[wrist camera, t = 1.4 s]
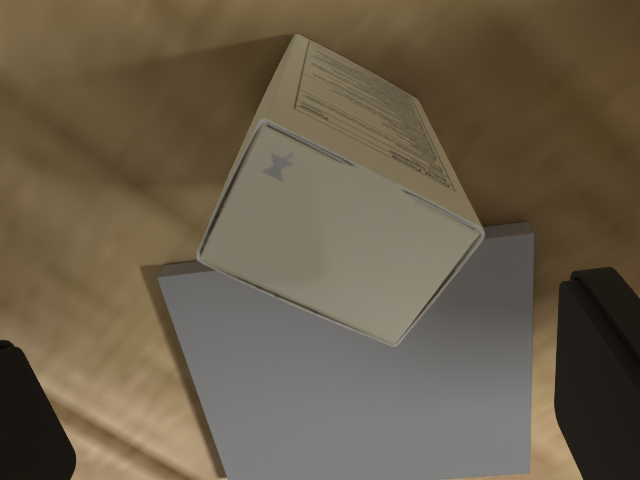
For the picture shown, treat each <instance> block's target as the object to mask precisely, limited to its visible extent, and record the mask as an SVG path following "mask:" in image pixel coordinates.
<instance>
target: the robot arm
mask: <svg viewBox="0 0 640 480" xmlns="http://www.w3.org/2000/svg"><path fill="white" fill-rule="evenodd" d="M554 408H555V414H556V419H557V422H558V425H559V427H560V430H561V432H562V434H563V436H564V438H565V440H566V443H567V445H568V447H569V449H570V451H571V454H572V456H573V458H574V460H575V462H576V464H577V467H578V469H579V471H580V473H581V475H582V477H583V480H640V298H639V297H638V296H637V295H636V294H635V292H634V291H633V290H632V289H631V288H630V287H629V285H628V284H627V283H626V282H625V281H624V280H623V278H622V277H621V276H620V275H619V274H618V272H617V271H616V270H615V269H613V268H612V267H604V268H596V269H588V270H580V271H574V272H573V273H572V274H571V277H570V281H563V282H561V284H560V288H559V305H558V328H557V351H556V374H555V396H554ZM75 466H76V454H75V451H74V449H73V447H72V445H71V443H70V441H69V439H68V437H67V435H66V433H65V431H64V429H63V427H62V425H61V424H60V422H59V420H58V418H57V416H56V414H55V412H54V410H53V408H52V406H51V404H50V402H49V400H48V399H47V397H46V395H45V393H44V391H43V389H42V387H41V385H40V383H39V381H38V379H37V377H36V375H35V374H34V372H33V370H32V368H31V366H30V364H29V362H28V360H27V358H26V356H25V354H24V353H23V351H22V350H21V349H20V348H18V347H15V346H14V345H13V344H12V343H11V342H9V341H6V340H0V480H70V479H71V477H72V475H73V473H74V470H75Z"/></svg>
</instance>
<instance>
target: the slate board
mask: <svg viewBox="0 0 640 480" xmlns="http://www.w3.org/2000/svg"><path fill="white" fill-rule="evenodd" d="M483 229H484V232H485V237H484V239H483V241H482V242H481V244H480V245H479V246H478V247H477V249H476V250H475V251H474V253H473V254H472V255H471V256H470V258H469V259H468V260H467V261H466V263H465V264H464V265H463V267H462V268H461V269H460V271H459V272H458V273H457V274H456V275H455V277H454V278H453V279H452V280H451V281H450V283H449V284H448V285H447V286H446V288H445V289H444V290H443V291H442V293H441V294H440V295H439V297H438V298H437V299H436V300H435V302H434V303H433V304H432V305H431V306H430V308H429V309H428V310H427V311H426V312H425V313H424V315H423V316H422V317H421V318H420V320H419V321H418V322H417V323H416V324H415V325H414V327H413V328H412V329H411V330H410V331H409V332H408V334H407V335H406V336H405V337H404V339H403V340H402V341H401V343H400V344H399V345H398V346H396V347H392V346H389V345H387V344H384V343H382V342H380V341H377V340H375V339H372V338H370V337H367V336H364V335H362V334H359V333H357V332H355V331H352V330H349V329H347V328H344V327H342V326H339V325H337V324H335V323H333V322H330V321H327V320H325V319H323V318H320V317H318V316H316V315H313V314H311V313H309V312H306V311H304V310H302V309H299V308H297V307H295V306H292V305H290V304H288V303H286V302H283V301H281V300H278V299H276V298H274V297H271V296H269V295H267V294H265V293H262V292H260V291H258V290H256V289H254V288H251V287H249V286H247V285H245V284H243V283H241V282H238V281H236V280H234V279H232V278H230V277H228V276H226V275H224V274H222V273H219V272H218V271H216V270H214V269H212V268H210V267H208V266H206V265H204V264H202V263H200V262H199V261H194V262H185V263H177V264H169V265H164V266H163V268H162V269H161V271H160V273H159V275H158V276H157V279H158V282H159V285H160V288H161V291H162V294H163V297H164V299H165V302H166V305H167V308H168V311H169V314H170V317H171V319H172V322H173V325H174V328H175V331H176V334H177V336H178V339H179V342H180V345H181V348H182V351H183V354H184V356H185V359H186V362H187V365H188V368H189V371H190V374H191V376H192V379H193V382H194V385H195V388H196V391H197V394H198V396H199V399H200V402H201V405H202V408H203V411H204V413H205V416H206V419H207V422H208V425H209V428H210V431H211V433H212V436H213V439H214V442H215V445H216V448H217V451H218V453H219V456H220V459H221V462H222V465H223V468H224V471H225V473H226V476H227V479H228V480H441V479H455V478H470V477H485V476H500V475H514V474H529V473H530V446H531V390H532V334H533V278H534V232H533V231H532V229H531V227H530V226H529V224H528V223H527V222H520V223H511V224H503V225H495V226H486V227H483Z"/></svg>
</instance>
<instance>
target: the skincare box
mask: <svg viewBox="0 0 640 480" xmlns="http://www.w3.org/2000/svg"><path fill="white" fill-rule="evenodd" d="M484 237H485V232H484V229H483V227H482V225H481V223H480V221H479V219H478V217H477V215H476V213H475V211H474V209H473V207H472V205H471V203H470V201H469V199H468V198H467V196H466V194H465V192H464V190H463V188H462V186H461V184H460V182H459V180H458V178H457V176H456V174H455V172H454V170H453V168H452V166H451V164H450V162H449V160H448V158H447V156H446V154H445V152H444V150H443V148H442V145H441V144H440V142H439V140H438V138H437V136H436V134H435V132H434V130H433V128H432V126H431V124H430V122H429V120H428V118H427V116H426V114H425V112H424V110H423V108H422V106H421V104H420V102H419V100H418V99H417V98H415V97H414V96H412V95H410V94H409V93H407V92H405V91H404V90H402V89H400V88H399V87H397V86H395V85H393V84H392V83H390V82H388V81H386V80H385V79H383V78H381V77H380V76H378V75H376V74H374V73H372V72H371V71H369V70H367V69H365V68H363V67H361V66H359V65H358V64H356V63H354V62H352V61H350V60H348V59H346V58H345V57H343V56H341V55H339V54H337V53H335V52H333V51H331V50H329V49H327V48H325V47H323V46H321V45H319V44H317V43H315V42H313V41H311V40H309V39H307V38H305V37H303V36H301V35H299V34H295V35H294V36H293V38H292V40H291V42H290V44H289V46H288V48H287V49H286V51H285V53H284V55H283V57H282V59H281V61H280V63H279V65H278V67H277V69H276V71H275V73H274V75H273V77H272V79H271V81H270V83H269V86H268V88H267V90H266V92H265V94H264V96H263V98H262V101H261V103H260V105H259V107H258V109H257V112H256V114H255V116H254V118H253V121H252V123H251V125H250V127H249V130H248V132H247V134H246V136H245V139H244V141H243V143H242V146H241V148H240V150H239V152H238V155H237V157H236V159H235V161H234V164H233V166H232V168H231V170H230V173H229V175H228V177H227V180H226V182H225V184H224V187H223V189H222V191H221V194H220V196H219V198H218V201H217V203H216V206H215V208H214V210H213V213H212V215H211V217H210V220H209V222H208V224H207V227H206V229H205V232H204V234H203V236H202V239H201V241H200V244H199V246H198V249H197V251H196V259H197V260H198V261H199V262H200V263H202V264H204V265H206V266H208V267H210V268H212V269H214V270H216V271H218V272H219V273H222V274H224V275H226V276H228V277H230V278H232V279H234V280H236V281H238V282H241V283H243V284H245V285H247V286H249V287H251V288H254V289H256V290H258V291H260V292H262V293H265V294H267V295H269V296H271V297H274V298H276V299H278V300H281V301H283V302H286V303H288V304H290V305H292V306H295V307H297V308H299V309H302V310H304V311H306V312H309V313H311V314H313V315H316V316H318V317H320V318H323V319H325V320H327V321H330V322H333V323H335V324H337V325H339V326H342V327H344V328H347V329H349V330H352V331H355V332H357V333H359V334H362V335H364V336H367V337H370V338H372V339H375V340H377V341H380V342H382V343H384V344H387V345H389V346H392V347H396V346H398V345H399V344H400V343H401V341H402V340H403V339H404V337H405V336H406V335H407V334H408V332H409V331H410V330H411V329H412V328H413V327H414V325H415V324H416V323H417V322H418V321H419V320H420V318H421V317H422V316H423V315H424V313H425V312H426V311H427V310H428V309H429V308H430V306H431V305H432V304H433V303H434V302H435V300H436V299H437V298H438V297H439V295H440V294H441V293H442V291H443V290H444V289H445V288H446V286H447V285H448V284H449V283H450V281H451V280H452V279H453V278H454V277H455V275H456V274H457V273H458V272H459V271H460V269H461V268H462V267H463V265H464V264H465V263H466V261H467V260H468V259H469V258H470V256H471V255H472V254H473V253H474V251H475V250H476V249H477V247H478V246H479V245H480V244H481V242H482V241H483V239H484Z"/></svg>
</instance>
